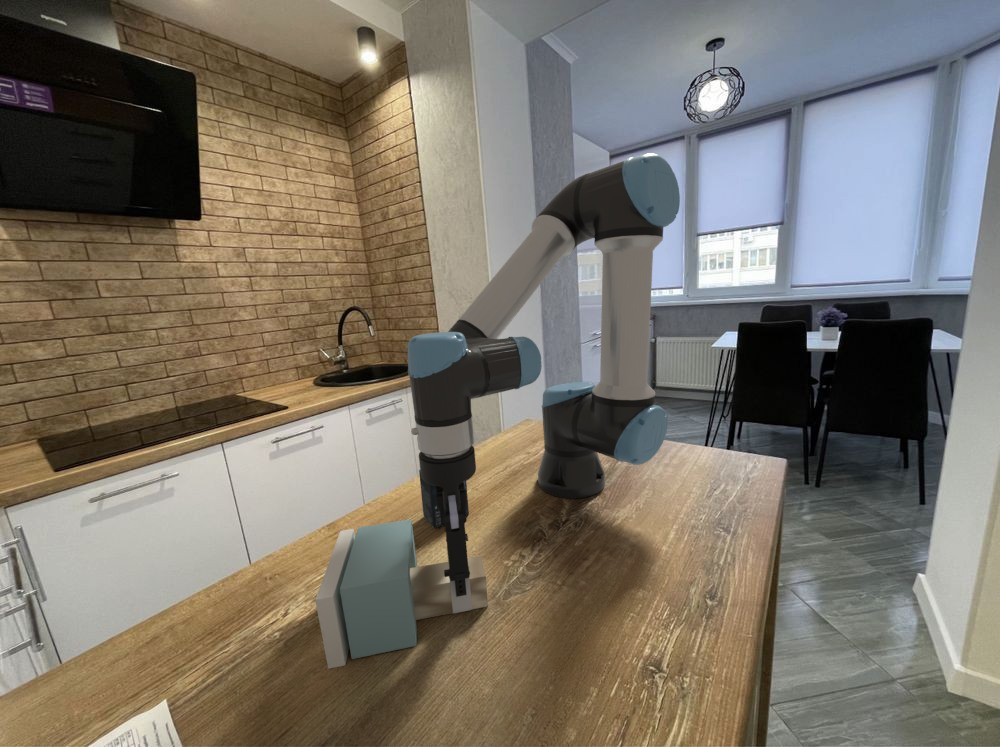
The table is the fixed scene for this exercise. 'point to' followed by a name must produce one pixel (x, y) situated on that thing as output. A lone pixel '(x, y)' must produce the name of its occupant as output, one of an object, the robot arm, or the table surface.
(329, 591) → the wall
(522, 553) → the table surface
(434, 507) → the box
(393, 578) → the block
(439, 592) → the rectangular bar
